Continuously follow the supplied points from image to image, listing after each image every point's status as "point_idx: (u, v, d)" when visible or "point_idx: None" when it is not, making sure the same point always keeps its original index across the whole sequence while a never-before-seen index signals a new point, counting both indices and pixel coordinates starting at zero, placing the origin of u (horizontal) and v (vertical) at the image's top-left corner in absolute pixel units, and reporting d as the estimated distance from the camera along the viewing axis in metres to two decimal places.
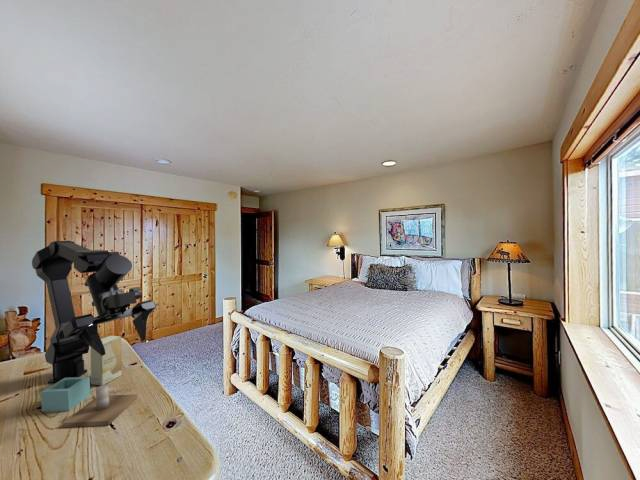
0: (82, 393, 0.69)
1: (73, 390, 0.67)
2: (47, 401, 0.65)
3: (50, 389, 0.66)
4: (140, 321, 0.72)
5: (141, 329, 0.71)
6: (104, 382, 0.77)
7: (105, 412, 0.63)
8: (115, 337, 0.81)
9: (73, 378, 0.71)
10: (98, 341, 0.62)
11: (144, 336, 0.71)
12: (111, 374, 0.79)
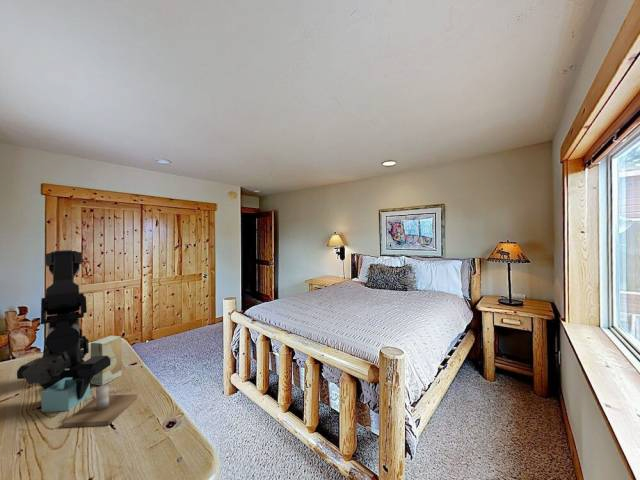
0: None
1: (73, 390, 0.67)
2: (47, 401, 0.65)
3: (50, 389, 0.66)
4: None
5: None
6: (104, 382, 0.77)
7: (105, 412, 0.63)
8: (115, 337, 0.81)
9: None
10: None
11: (78, 396, 0.68)
12: (111, 374, 0.79)
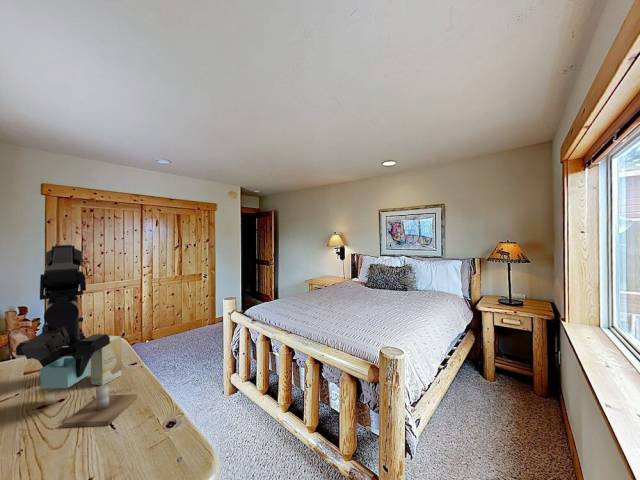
0: None
1: (72, 368, 0.67)
2: (46, 378, 0.65)
3: (49, 366, 0.66)
4: None
5: None
6: (104, 382, 0.77)
7: (105, 412, 0.63)
8: (115, 337, 0.81)
9: (72, 357, 0.71)
10: None
11: (77, 374, 0.68)
12: (111, 374, 0.79)
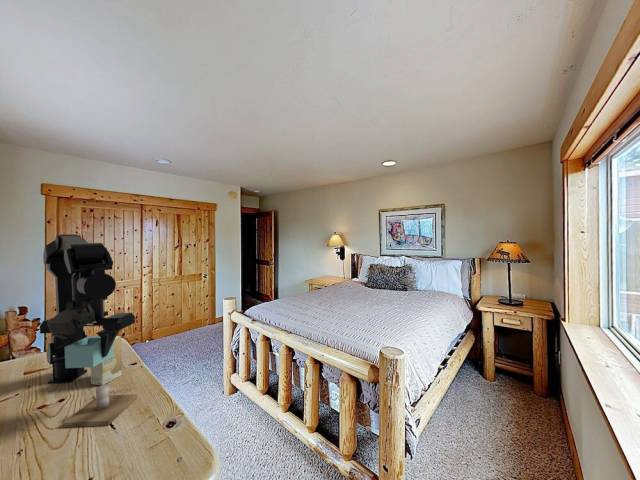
0: None
1: (97, 346, 0.64)
2: (71, 357, 0.62)
3: (74, 345, 0.63)
4: None
5: None
6: (104, 382, 0.77)
7: (105, 412, 0.63)
8: None
9: (96, 337, 0.68)
10: None
11: (102, 354, 0.65)
12: (111, 374, 0.79)
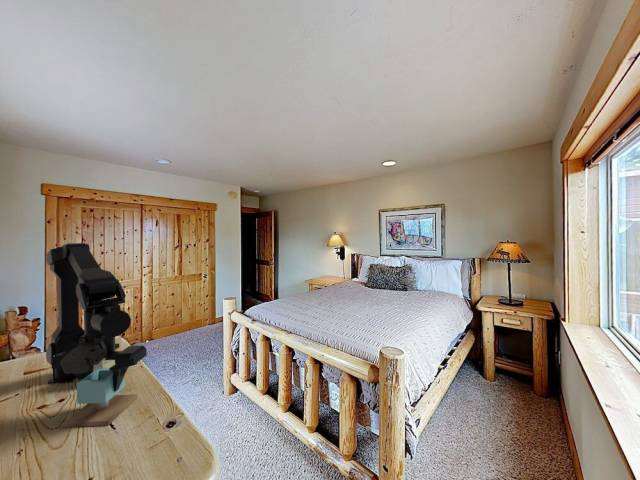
0: None
1: (109, 381, 0.63)
2: (83, 392, 0.62)
3: (86, 380, 0.62)
4: None
5: None
6: None
7: (105, 412, 0.63)
8: (115, 337, 0.81)
9: (107, 369, 0.67)
10: None
11: (114, 388, 0.64)
12: None
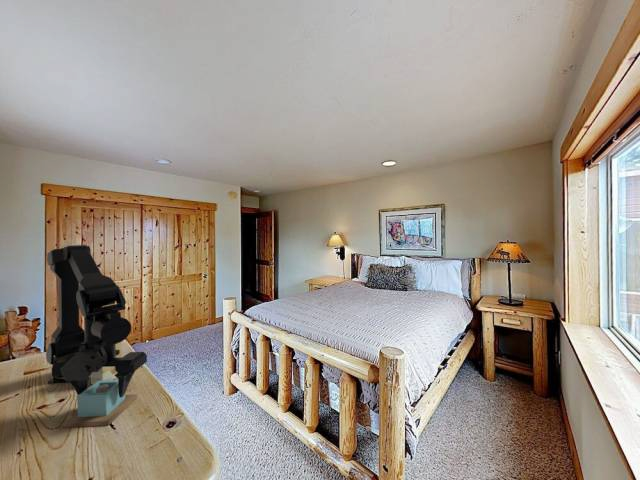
0: (118, 397, 0.66)
1: (110, 394, 0.63)
2: (83, 406, 0.62)
3: (86, 393, 0.63)
4: None
5: None
6: None
7: None
8: None
9: (108, 381, 0.68)
10: (75, 387, 0.64)
11: (120, 394, 0.65)
12: (111, 374, 0.79)
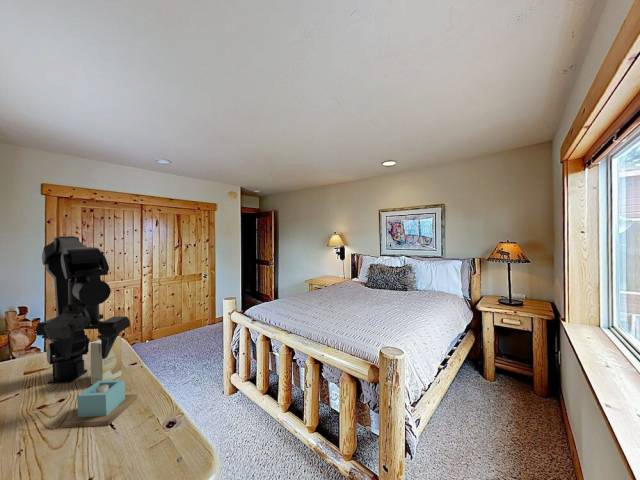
0: (118, 397, 0.66)
1: (110, 394, 0.63)
2: (83, 406, 0.62)
3: (86, 393, 0.63)
4: None
5: None
6: None
7: None
8: None
9: (108, 381, 0.68)
10: (59, 348, 0.66)
11: (103, 356, 0.67)
12: (111, 374, 0.79)
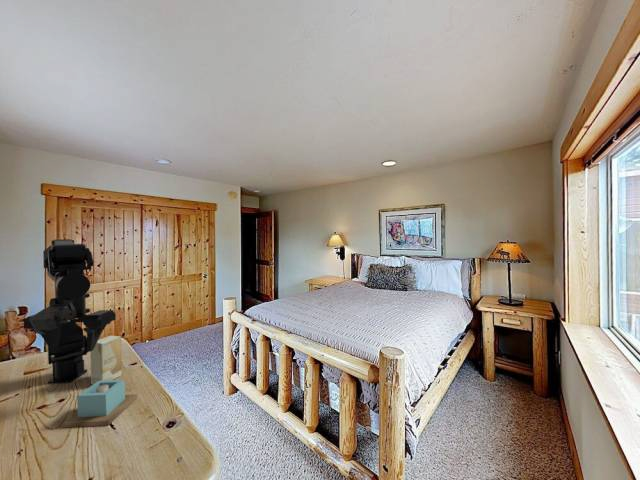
0: (118, 397, 0.66)
1: (110, 394, 0.63)
2: (83, 406, 0.62)
3: (86, 393, 0.63)
4: None
5: None
6: None
7: None
8: (115, 337, 0.81)
9: (108, 381, 0.68)
10: (47, 341, 0.68)
11: (89, 348, 0.69)
12: (111, 374, 0.79)
